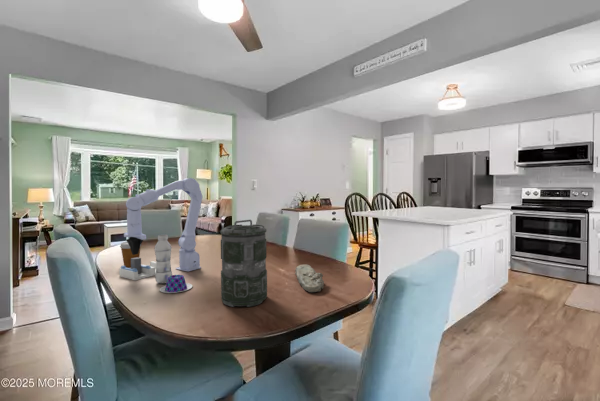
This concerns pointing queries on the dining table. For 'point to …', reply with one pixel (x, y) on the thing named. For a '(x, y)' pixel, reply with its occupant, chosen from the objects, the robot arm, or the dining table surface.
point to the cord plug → (136, 264)
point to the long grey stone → (309, 278)
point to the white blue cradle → (133, 273)
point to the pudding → (175, 284)
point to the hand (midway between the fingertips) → (135, 254)
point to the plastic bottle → (163, 259)
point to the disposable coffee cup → (127, 254)
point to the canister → (243, 265)
